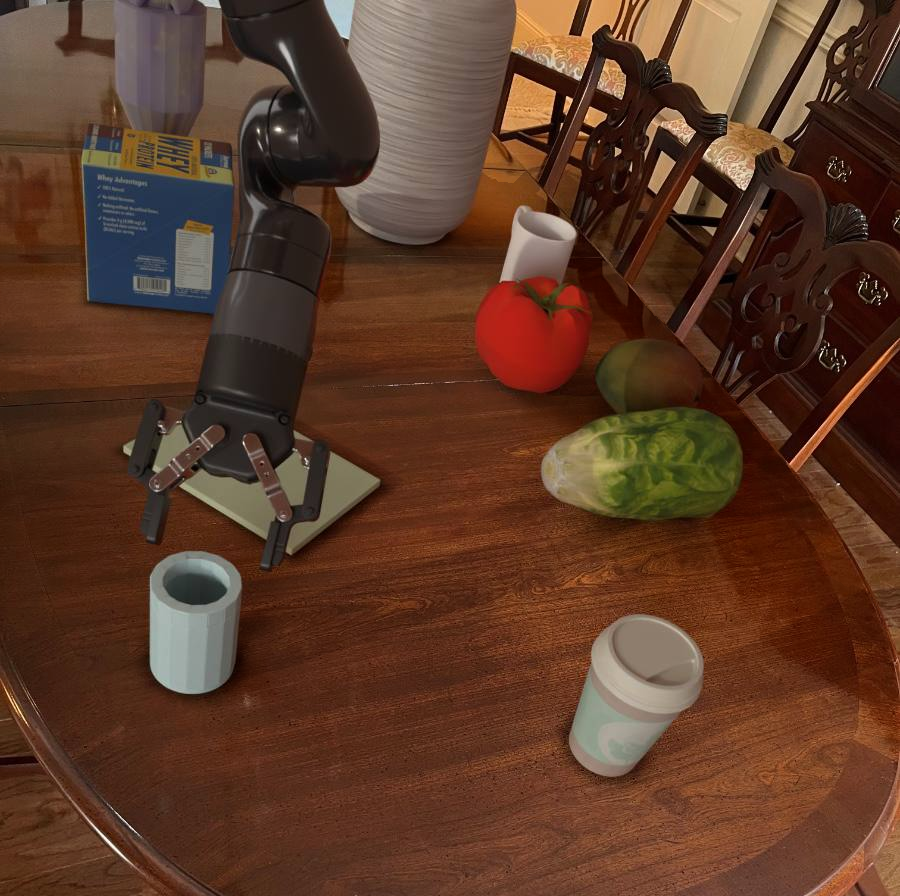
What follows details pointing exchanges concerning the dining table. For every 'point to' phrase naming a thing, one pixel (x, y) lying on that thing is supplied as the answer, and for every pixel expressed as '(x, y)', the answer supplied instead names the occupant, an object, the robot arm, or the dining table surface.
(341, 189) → the vase
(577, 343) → the tomato
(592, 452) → the lettuce
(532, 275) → the mug
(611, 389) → the fruit
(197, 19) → the decorative object
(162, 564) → the cylindrical container
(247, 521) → the mat
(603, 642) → the coffee cup
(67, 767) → the dining table surface
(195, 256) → the protein box
